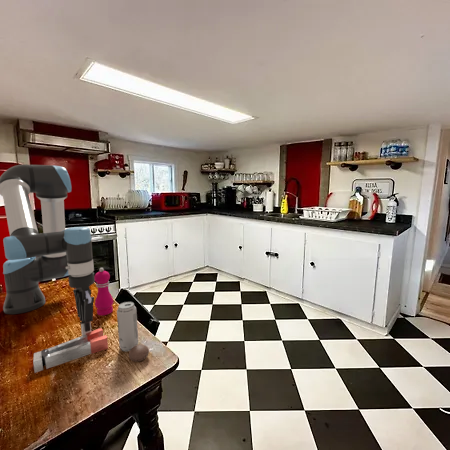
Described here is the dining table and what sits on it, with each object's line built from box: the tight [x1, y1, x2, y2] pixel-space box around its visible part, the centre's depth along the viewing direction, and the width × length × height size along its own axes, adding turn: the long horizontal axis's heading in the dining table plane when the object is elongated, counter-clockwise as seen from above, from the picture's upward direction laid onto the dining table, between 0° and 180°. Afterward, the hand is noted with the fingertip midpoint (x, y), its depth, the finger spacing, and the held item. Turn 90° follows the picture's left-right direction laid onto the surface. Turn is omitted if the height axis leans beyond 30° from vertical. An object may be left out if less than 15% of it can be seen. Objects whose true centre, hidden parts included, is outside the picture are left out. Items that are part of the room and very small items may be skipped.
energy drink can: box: [116, 301, 139, 352], centre depth 84 cm, size 6×6×15 cm
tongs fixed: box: [32, 334, 109, 374], centre depth 81 cm, size 20×5×4 cm, turn 125°
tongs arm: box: [47, 327, 104, 354], centre depth 84 cm, size 16×2×4 cm, turn 135°
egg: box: [128, 344, 150, 362], centre depth 79 cm, size 6×6×4 cm
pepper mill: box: [94, 267, 114, 316], centre depth 109 cm, size 7×7×20 cm
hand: (87, 338), depth 88 cm, fingers closed
